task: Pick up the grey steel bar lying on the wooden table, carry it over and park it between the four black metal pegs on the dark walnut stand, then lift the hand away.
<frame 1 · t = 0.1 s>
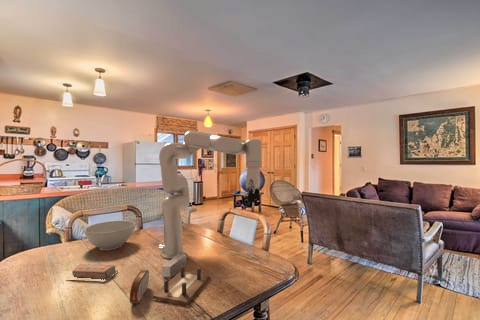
hand: (254, 200, 118), 31 cm above the table, tool pointing down, fingers open, 9 cm apart
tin: (140, 297, 92), on the table
decorative bowl: (111, 246, 145), on the table
steel bar: (175, 270, 114), on the table
peg stand: (183, 288, 98), on the table
packaged product: (93, 277, 109), on the table
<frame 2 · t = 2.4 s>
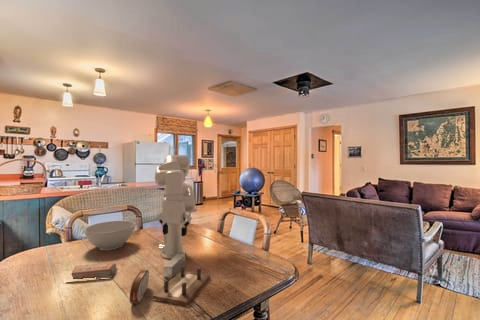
hand: (174, 234, 113), 17 cm above the table, tool pointing down, fingers open, 9 cm apart
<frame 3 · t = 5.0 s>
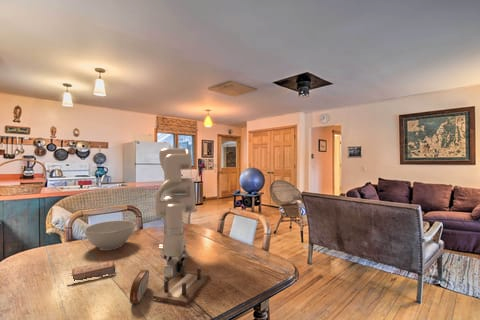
hand: (175, 269, 113), 0 cm above the table, tool pointing down, fingers closed on steel bar, 4 cm apart
steel bar: (175, 270, 114), on the table, touching gripper
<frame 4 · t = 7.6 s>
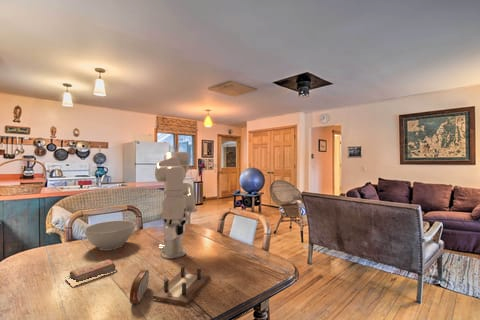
hand: (175, 233, 111), 18 cm above the table, tool pointing down, fingers closed on steel bar, 4 cm apart
steel bar: (175, 234, 111), point 17 cm above the table, touching gripper
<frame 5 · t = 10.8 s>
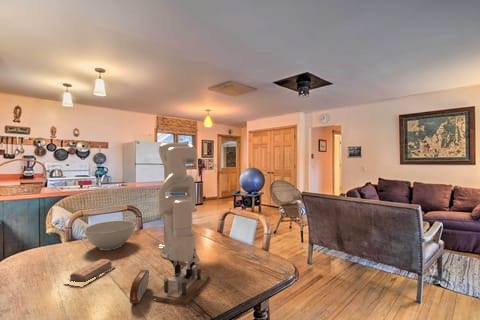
hand: (183, 276, 97), 5 cm above the table, tool pointing down, fingers open, 4 cm apart
steel bar: (183, 284, 97), point 2 cm above the table, touching gripper, peg stand
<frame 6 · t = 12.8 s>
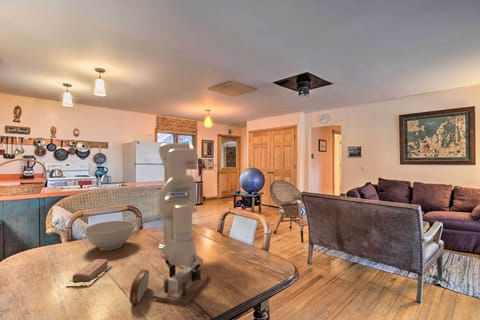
hand: (183, 278, 98), 4 cm above the table, tool pointing down, fingers open, 9 cm apart
steel bar: (183, 284, 97), point 2 cm above the table, touching peg stand
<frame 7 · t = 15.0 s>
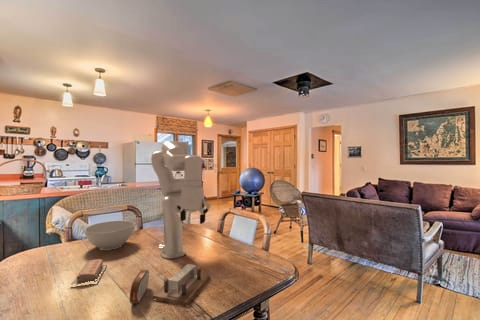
hand: (192, 221, 109), 23 cm above the table, tool pointing down, fingers open, 9 cm apart
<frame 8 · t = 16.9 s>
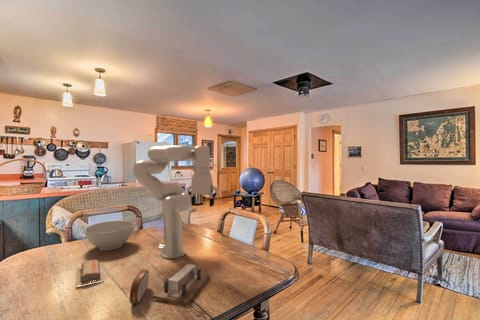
hand: (202, 205, 121), 28 cm above the table, tool pointing down, fingers open, 9 cm apart
at the end: steel bar 0.1 cm off-centre on the peg stand, point 1.6 cm above the peg stand's base; steel bar tilted 0°; the gripper is holding nothing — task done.
